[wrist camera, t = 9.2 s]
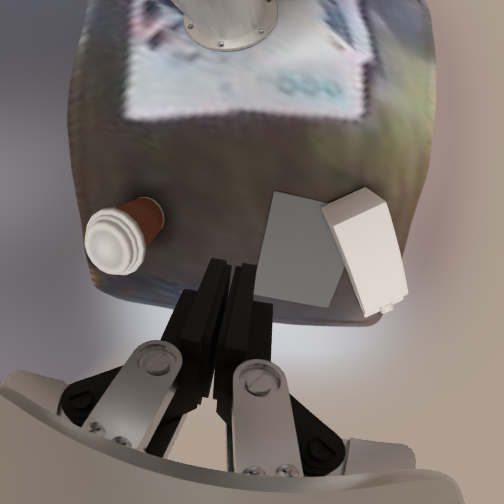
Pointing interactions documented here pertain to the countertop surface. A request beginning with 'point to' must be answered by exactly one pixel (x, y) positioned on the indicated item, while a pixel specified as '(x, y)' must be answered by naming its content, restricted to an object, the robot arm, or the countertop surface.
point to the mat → (298, 253)
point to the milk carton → (368, 249)
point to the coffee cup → (123, 235)
